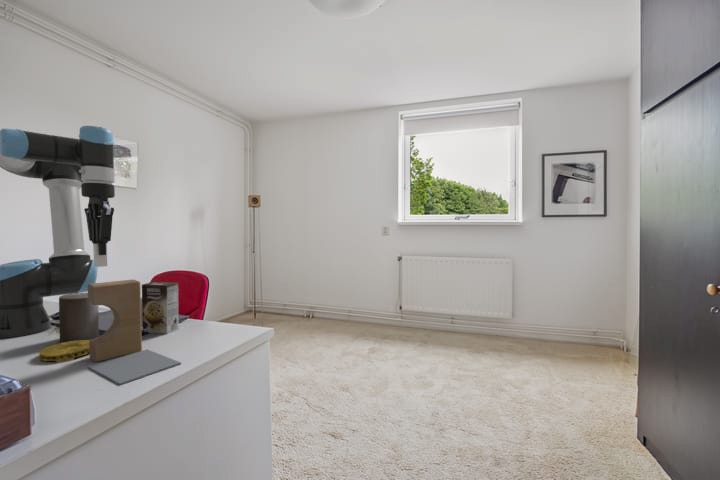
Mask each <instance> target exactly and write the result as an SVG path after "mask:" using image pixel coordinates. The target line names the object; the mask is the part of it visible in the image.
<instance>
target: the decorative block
mask: <svg viewBox="0 0 720 480" xmlns="http://www.w3.org/2000/svg"><path fill="white" fill-rule="evenodd" d="M87 293H88V301H89V302H90V303H92V304H93V305H98V306H104V307H106V308H109V309H110V311H111V310H112V311H113V315H114V320H113V324H112V325H111V324H110V326H109V328H108V329H107V330H106V331H105V332H104V333H102V334H101V335H99V336H98V337H97V338H94V339H92V340H90V341H89V347H90V353H89V357H90V359H91V360H92V362H95V363H100V362H105V361H108V360H112V359H115V358H119V357H122V356H126V355H129V354H133V353H136V352H140V351H143V340H142V337H143V336H142V333H143V332H142V330H141V295H142V291H141V282H140V281H139V280H137V279H124V280H123V279H122V280H117V281H116V280H115V281H105V282H96V283H93V284H89V285H88V291H87Z"/></svg>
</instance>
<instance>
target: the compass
mask: <svg viewBox="0 0 720 480" xmlns="http://www.w3.org/2000/svg"><path fill="white" fill-rule="evenodd" d="M89 341H90V340H77V341H69V342H64V343H61V342H59V343H56V344H52V345H49V346H47V347H44V348H42V349H40V350H39V351H38V352H39V353H38V354H39V355H38V356H39V361H40V362H41V361H47V362H54V361H55V362H56V363H64V362H68V361H73V360H75V358H79V357H82V356H85V355H88V354H90V347H89Z"/></svg>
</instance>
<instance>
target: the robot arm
mask: <svg viewBox="0 0 720 480" xmlns="http://www.w3.org/2000/svg"><path fill="white" fill-rule="evenodd" d="M114 145H115V142H114V136H113V132H112V130H110V129H108V128H107V127H101V126H95V125H82V126H81V127H80V128H79V135H78V138H74V137H67V136H59V135H53V134H45V133H39V132H33V131H28V130H22V129H17V128H16V129H13V128H1V129H0V168H1V169H2V170H4V171H6V172H8V173H11V174H14V175H16V176H19V177H24V178H29V179H39V180H40V179H41V180H42V185H43V186H45V187H46V189H48V195H49V196H48V197H49V207H50V220H51V232H52V244H53V253H52V254H51V255H50V256H49V257H48V262H44V263H43V261H42V259H39V258H36V259H35V258H34V259H27V260H18V261H12V262H6V263H2V264H0V339H6V338H16V337H22V336H27V335H28V336H29V335H32V334H37V333H40V332H43V331H46V330H49V329H50V328H51V327H52V321H51V319H50V316H49V315H48V312H47V310H46V309H45V306H44V298H45V297H54V296H62V295H67V294H74V293H78V291H79V293H86V292H87V293H88V285H89V284H93V283H97V282H96V281H97V278H98V277H97V276H98V268H100V267H101V268H102V267H103V268H104V267H108V247H107V246H108V243H109V242H111V241H112V239H111V238H112V227H113V215H114V212H115V207H110V201H109V199H112V198H115V196H116V193H115V192H116V191H115V190H116V189H115V185H114V183H115V181H116V179H115V169H114V168H115V167H114V166H115V165H114V164H115V163H114V160H115V159H114ZM80 191H81V196H82V197H84V198H88V204H87V207H85V208H84V210H83V211H84V213H85V217H86V225H87V233H88V238H89V239H88V240H89V241H90V242H91V243H92V244H93V250H92V251H93V259H91V254H90V253H88V252H86V251H85V242H84V241H85V240H84V232H83V221H82V220H83V219H82V217H83V216H82V208H81V199H80V197H81V196H80Z"/></svg>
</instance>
